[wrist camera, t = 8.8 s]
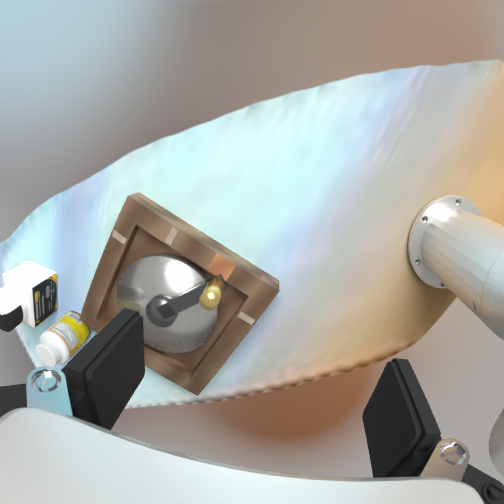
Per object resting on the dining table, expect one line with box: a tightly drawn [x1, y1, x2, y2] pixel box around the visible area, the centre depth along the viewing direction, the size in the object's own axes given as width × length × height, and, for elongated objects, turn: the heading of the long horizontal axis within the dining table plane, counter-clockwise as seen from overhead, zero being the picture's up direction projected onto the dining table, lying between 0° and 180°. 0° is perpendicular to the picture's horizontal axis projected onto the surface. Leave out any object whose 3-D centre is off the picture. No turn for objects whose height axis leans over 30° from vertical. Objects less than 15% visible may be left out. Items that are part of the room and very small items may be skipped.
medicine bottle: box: [0, 260, 58, 332], centre depth 38 cm, size 7×7×12 cm
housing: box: [79, 193, 279, 396], centre depth 40 cm, size 21×21×3 cm
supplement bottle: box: [36, 310, 91, 367], centre depth 40 cm, size 6×6×10 cm
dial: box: [117, 253, 229, 353], centre depth 37 cm, size 16×14×7 cm
